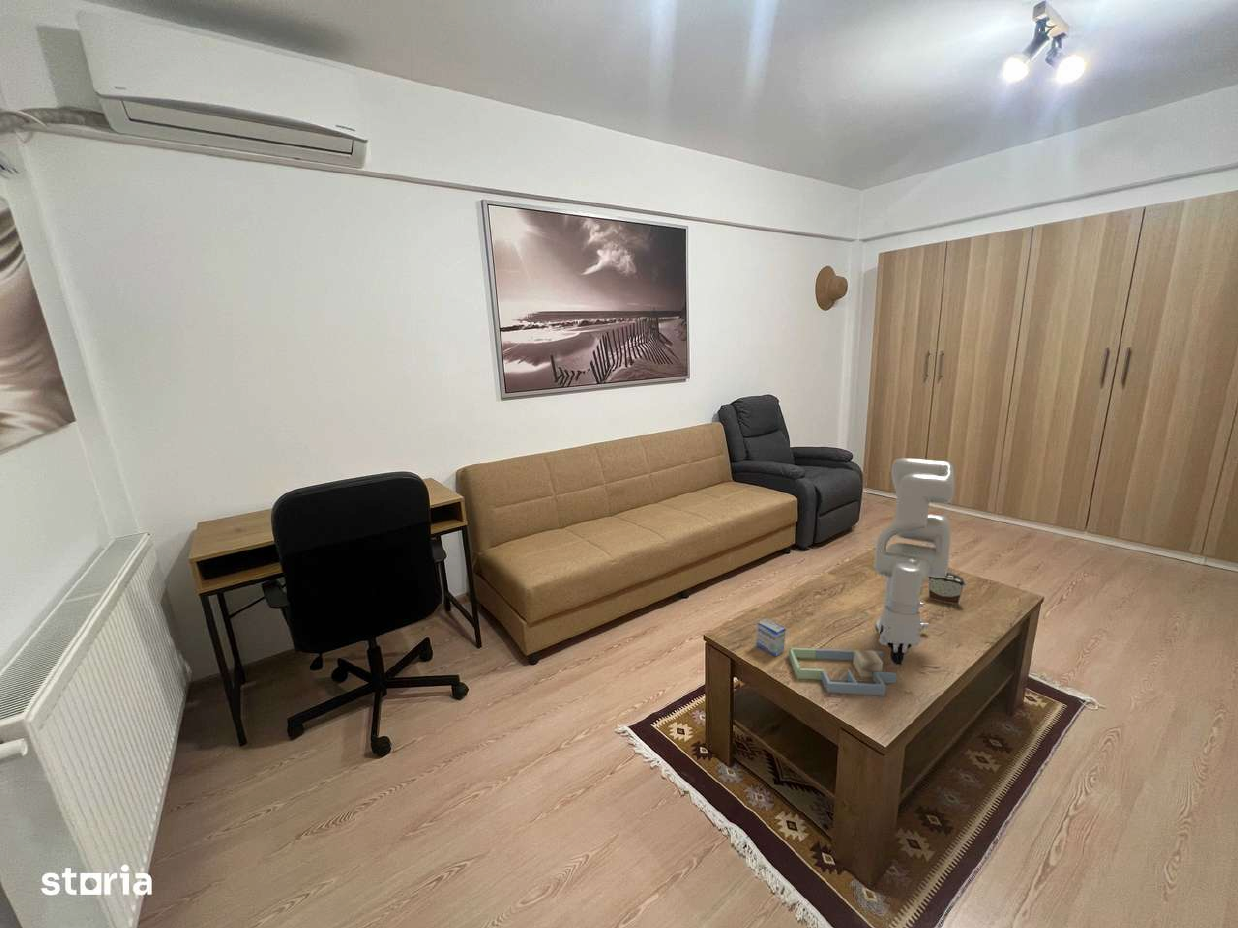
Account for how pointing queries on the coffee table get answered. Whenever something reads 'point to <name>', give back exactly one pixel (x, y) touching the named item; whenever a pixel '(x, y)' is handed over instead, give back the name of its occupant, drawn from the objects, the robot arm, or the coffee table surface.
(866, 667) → the birch block
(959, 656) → the coffee table surface
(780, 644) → the medicine box
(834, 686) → the tray
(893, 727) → the coffee table surface
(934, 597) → the food container
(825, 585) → the coffee table surface
